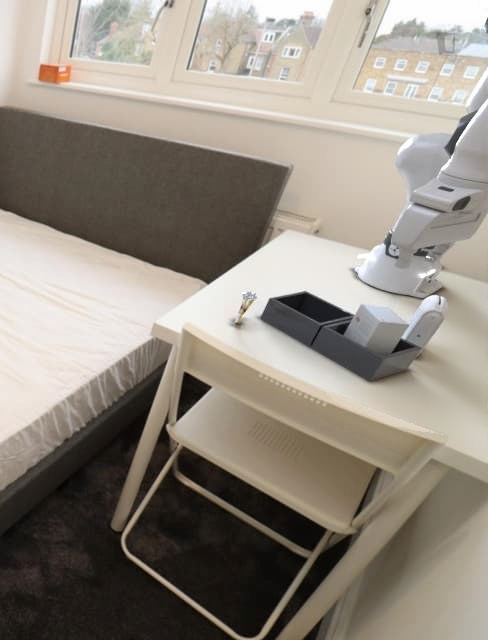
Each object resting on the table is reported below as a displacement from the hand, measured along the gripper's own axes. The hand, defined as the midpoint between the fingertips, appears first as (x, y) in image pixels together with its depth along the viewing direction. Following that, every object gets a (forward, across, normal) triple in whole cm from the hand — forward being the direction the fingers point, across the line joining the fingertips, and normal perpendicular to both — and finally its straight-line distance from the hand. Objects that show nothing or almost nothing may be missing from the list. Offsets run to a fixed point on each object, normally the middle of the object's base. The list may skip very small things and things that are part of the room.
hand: (416, 264), depth 98 cm
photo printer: (+22, -16, +1) cm, 27 cm away
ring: (+22, +14, -20) cm, 33 cm away
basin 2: (+22, +1, 0) cm, 22 cm away
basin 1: (+22, +1, -13) cm, 26 cm away
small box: (+22, 0, 0) cm, 22 cm away
